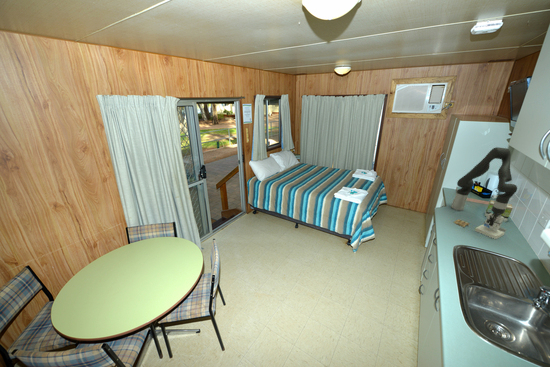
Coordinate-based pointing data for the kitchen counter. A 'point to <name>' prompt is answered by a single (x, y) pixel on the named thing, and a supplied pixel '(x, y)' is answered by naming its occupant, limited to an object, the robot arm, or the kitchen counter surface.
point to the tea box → (505, 215)
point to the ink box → (496, 223)
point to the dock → (490, 231)
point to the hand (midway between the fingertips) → (492, 224)
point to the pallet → (461, 223)
